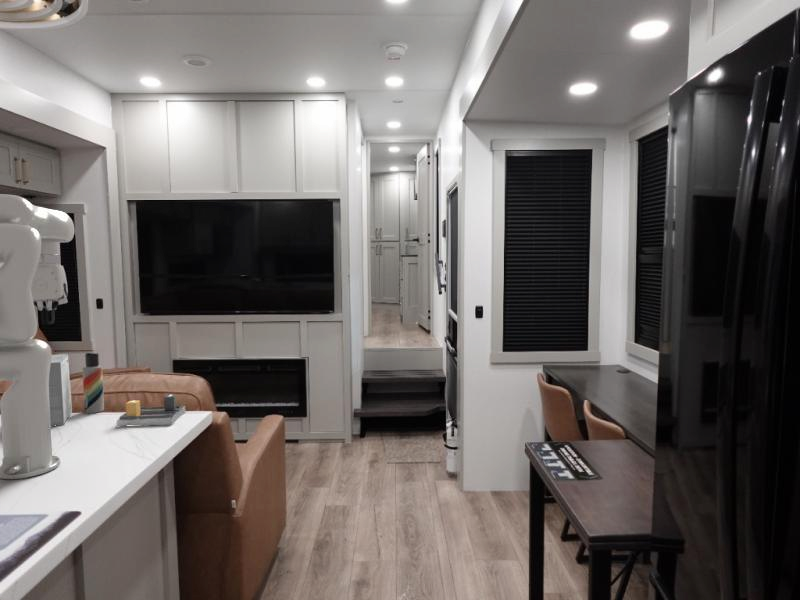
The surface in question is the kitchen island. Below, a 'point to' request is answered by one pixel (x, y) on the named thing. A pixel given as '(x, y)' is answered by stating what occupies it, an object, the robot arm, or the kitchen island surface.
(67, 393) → the hard drive box
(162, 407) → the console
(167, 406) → the fader
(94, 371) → the lotion bottle
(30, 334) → the robot arm
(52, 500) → the kitchen island surface
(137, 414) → the fader
